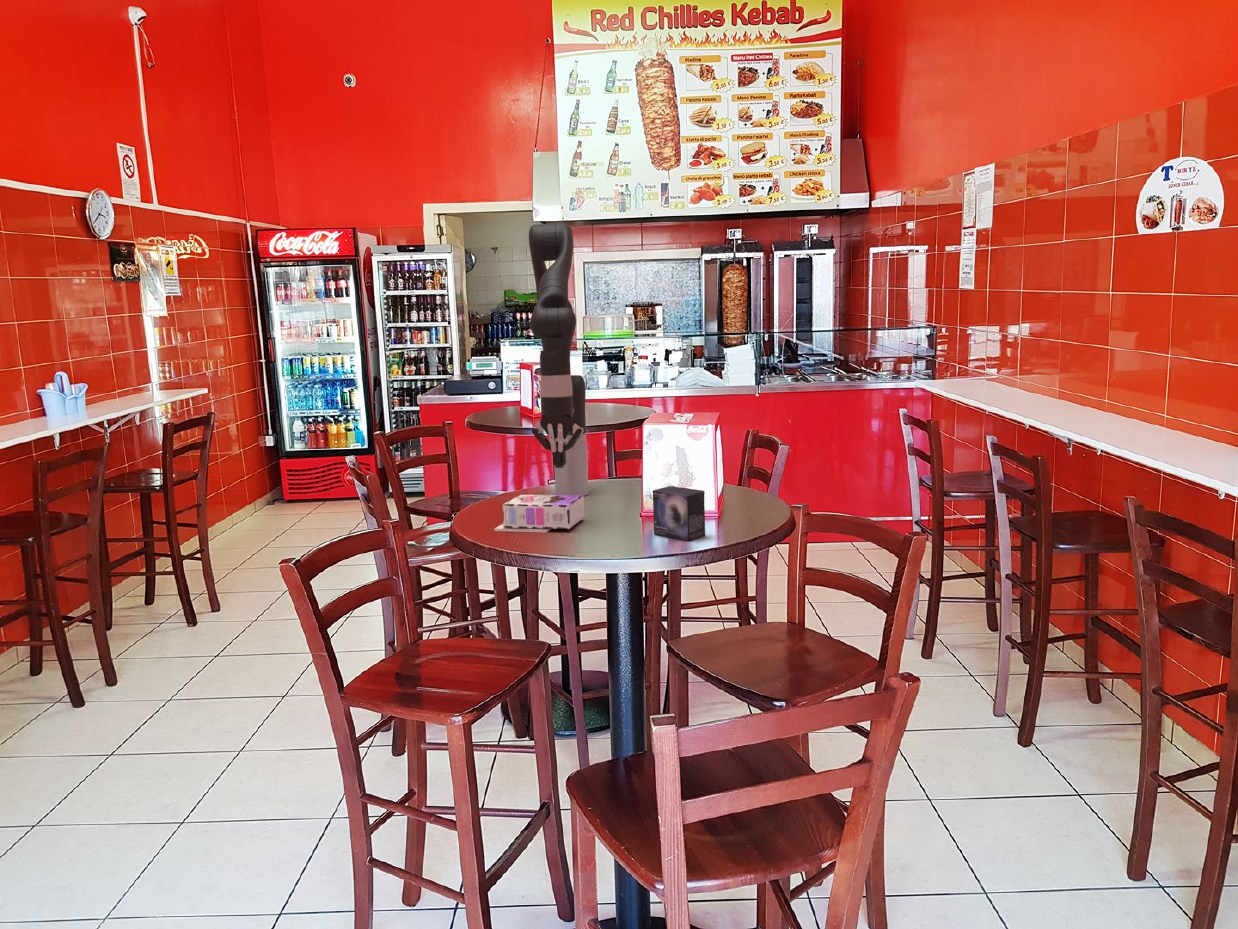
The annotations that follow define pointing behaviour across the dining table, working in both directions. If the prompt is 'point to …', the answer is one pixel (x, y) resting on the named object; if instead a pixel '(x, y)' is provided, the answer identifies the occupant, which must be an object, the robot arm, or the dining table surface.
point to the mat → (521, 529)
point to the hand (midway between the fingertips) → (559, 467)
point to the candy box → (543, 511)
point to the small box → (679, 513)
